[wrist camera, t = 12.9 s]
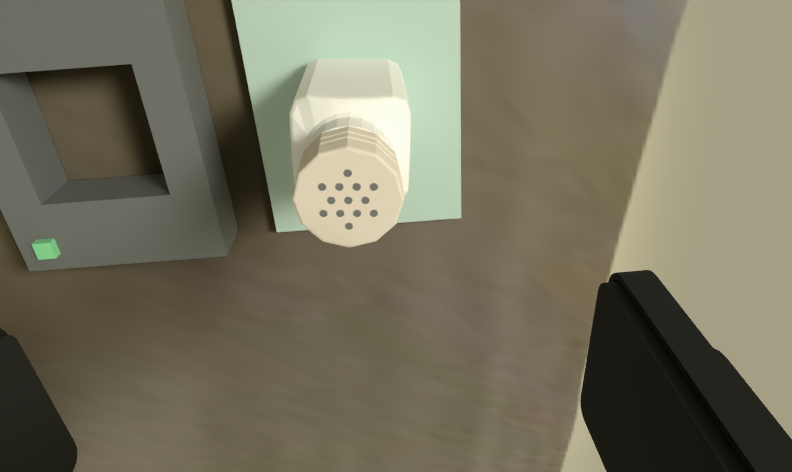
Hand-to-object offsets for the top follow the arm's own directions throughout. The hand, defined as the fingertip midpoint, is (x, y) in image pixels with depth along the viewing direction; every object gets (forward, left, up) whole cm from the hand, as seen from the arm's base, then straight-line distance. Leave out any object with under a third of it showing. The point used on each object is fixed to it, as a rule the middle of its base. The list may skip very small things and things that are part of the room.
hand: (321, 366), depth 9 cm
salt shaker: (+1, 0, -17) cm, 17 cm away
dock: (-2, -11, -18) cm, 21 cm away
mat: (+1, 0, -18) cm, 17 cm away
